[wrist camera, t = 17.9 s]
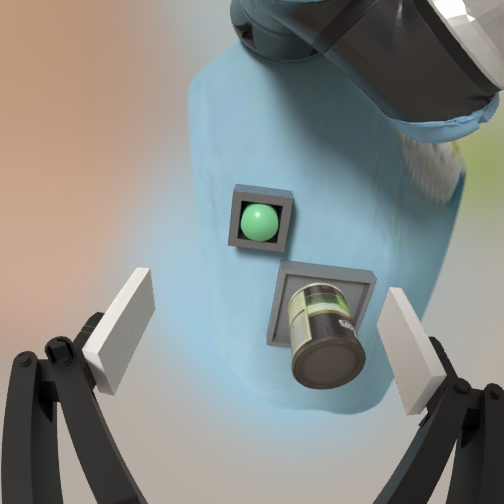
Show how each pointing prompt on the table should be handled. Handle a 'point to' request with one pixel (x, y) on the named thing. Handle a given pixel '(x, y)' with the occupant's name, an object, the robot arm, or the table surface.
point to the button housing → (260, 196)
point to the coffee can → (323, 338)
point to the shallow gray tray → (301, 274)
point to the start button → (259, 221)
